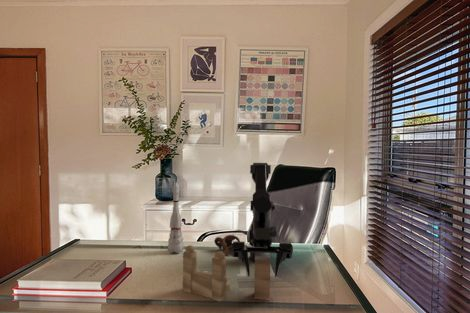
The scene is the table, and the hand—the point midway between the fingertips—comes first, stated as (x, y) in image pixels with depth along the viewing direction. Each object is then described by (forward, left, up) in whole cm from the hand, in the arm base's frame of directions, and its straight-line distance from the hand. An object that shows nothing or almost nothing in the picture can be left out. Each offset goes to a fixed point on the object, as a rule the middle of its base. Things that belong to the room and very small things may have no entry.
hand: (262, 276), depth 96 cm
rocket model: (+9, -54, -7) cm, 55 cm away
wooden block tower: (+12, -12, -7) cm, 18 cm away
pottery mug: (-11, -44, -7) cm, 46 cm away
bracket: (-1, -1, -7) cm, 7 cm away
